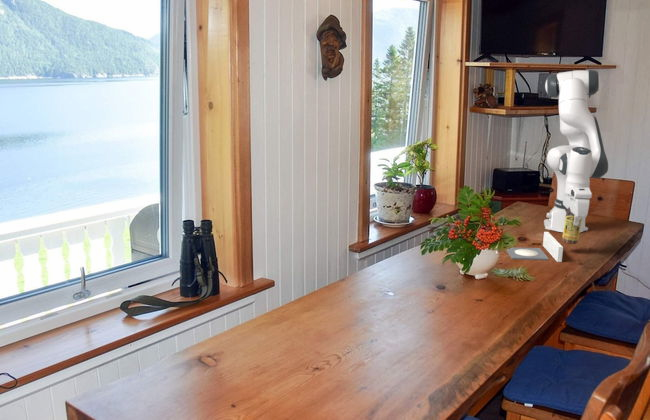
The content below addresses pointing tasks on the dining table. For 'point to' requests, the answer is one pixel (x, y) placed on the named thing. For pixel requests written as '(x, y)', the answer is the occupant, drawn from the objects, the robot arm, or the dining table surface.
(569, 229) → the sauce bottle
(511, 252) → the mat
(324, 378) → the dining table surface
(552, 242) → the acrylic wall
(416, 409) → the dining table surface
